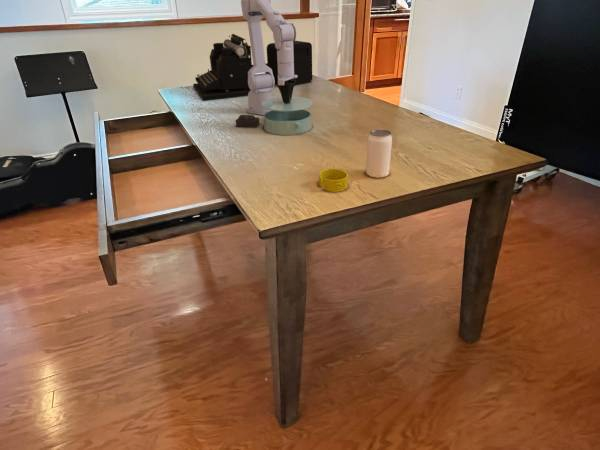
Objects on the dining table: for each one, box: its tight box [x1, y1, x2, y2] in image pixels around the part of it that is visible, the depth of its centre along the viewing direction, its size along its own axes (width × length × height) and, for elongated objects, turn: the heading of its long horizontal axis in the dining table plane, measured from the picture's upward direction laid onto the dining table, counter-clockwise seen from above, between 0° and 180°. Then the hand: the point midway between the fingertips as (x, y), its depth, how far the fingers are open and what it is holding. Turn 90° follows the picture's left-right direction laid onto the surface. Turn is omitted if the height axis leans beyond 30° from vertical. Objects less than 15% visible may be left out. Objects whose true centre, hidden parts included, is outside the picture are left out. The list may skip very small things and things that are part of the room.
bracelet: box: [318, 168, 349, 193], centre depth 110 cm, size 7×8×3 cm
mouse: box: [235, 114, 260, 129], centre depth 158 cm, size 8×5×4 cm, turn 77°
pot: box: [262, 109, 313, 136], centre depth 155 cm, size 18×23×5 cm
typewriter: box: [192, 33, 253, 102], centre depth 204 cm, size 31×27×25 cm
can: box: [365, 128, 393, 179], centre depth 114 cm, size 6×6×12 cm
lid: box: [261, 96, 314, 112], centre depth 151 cm, size 19×19×5 cm
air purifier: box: [266, 40, 313, 87], centre depth 218 cm, size 20×15×20 cm
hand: (287, 101), depth 151 cm, fingers closed on lid, 2 cm apart
